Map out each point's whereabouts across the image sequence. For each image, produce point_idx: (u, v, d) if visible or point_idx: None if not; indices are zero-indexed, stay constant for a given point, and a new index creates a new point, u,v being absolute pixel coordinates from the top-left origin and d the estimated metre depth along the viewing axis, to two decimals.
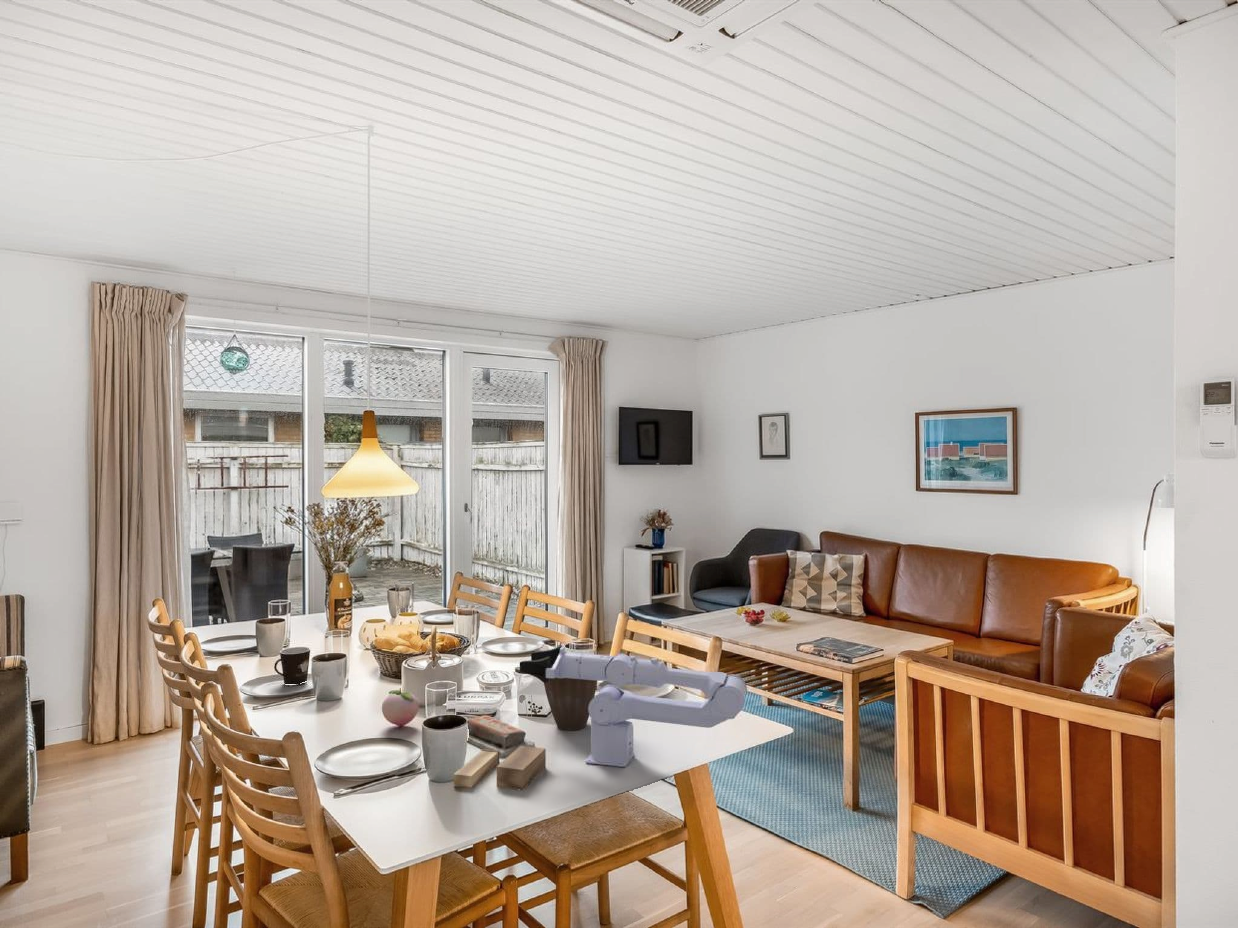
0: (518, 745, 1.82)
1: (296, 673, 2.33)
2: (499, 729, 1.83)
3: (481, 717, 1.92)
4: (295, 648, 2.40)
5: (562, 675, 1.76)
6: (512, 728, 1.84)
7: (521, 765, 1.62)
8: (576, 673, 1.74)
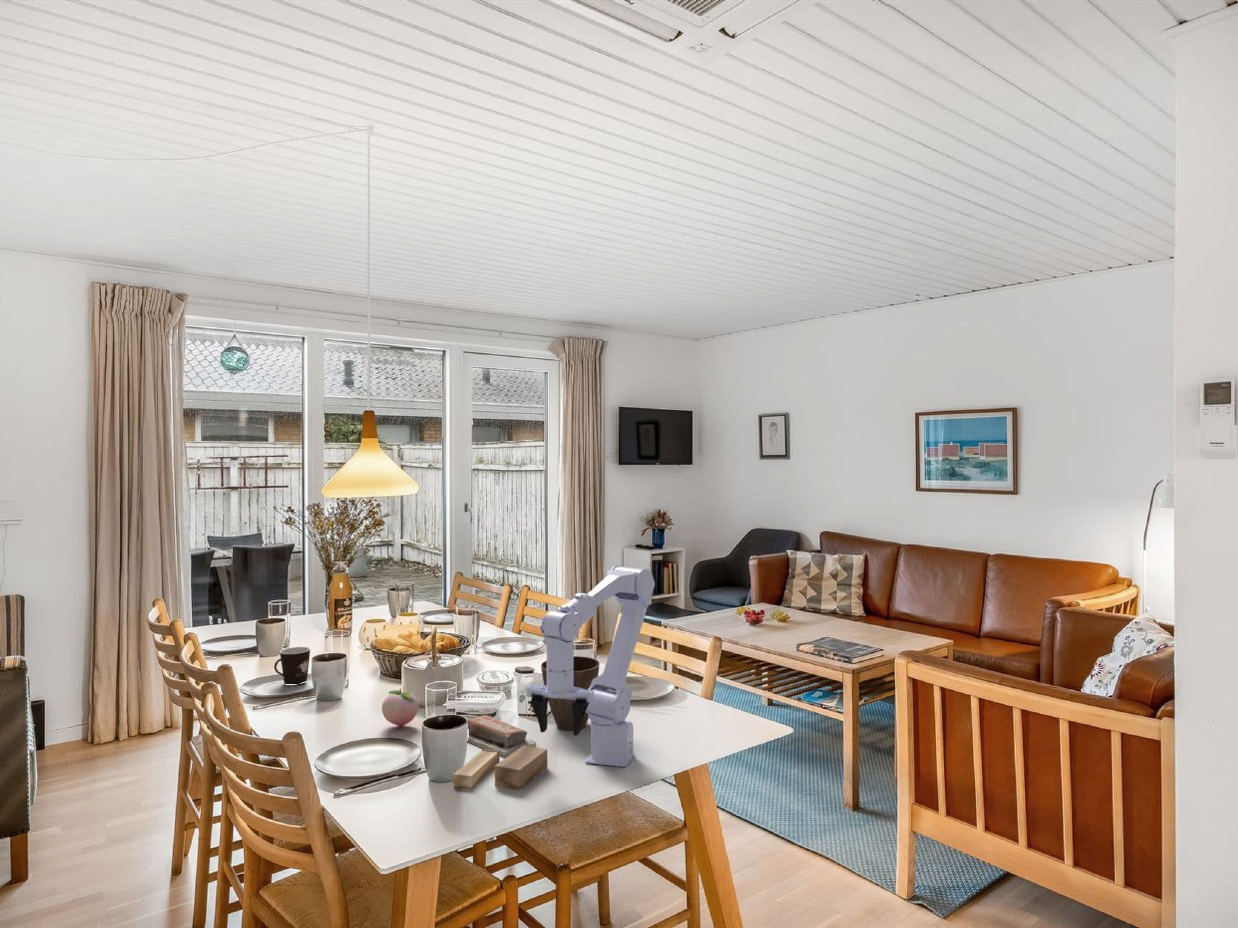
0: (520, 745, 1.82)
1: (296, 673, 2.33)
2: (500, 729, 1.83)
3: (481, 717, 1.91)
4: (295, 648, 2.40)
5: None
6: (513, 728, 1.85)
7: (519, 765, 1.62)
8: None
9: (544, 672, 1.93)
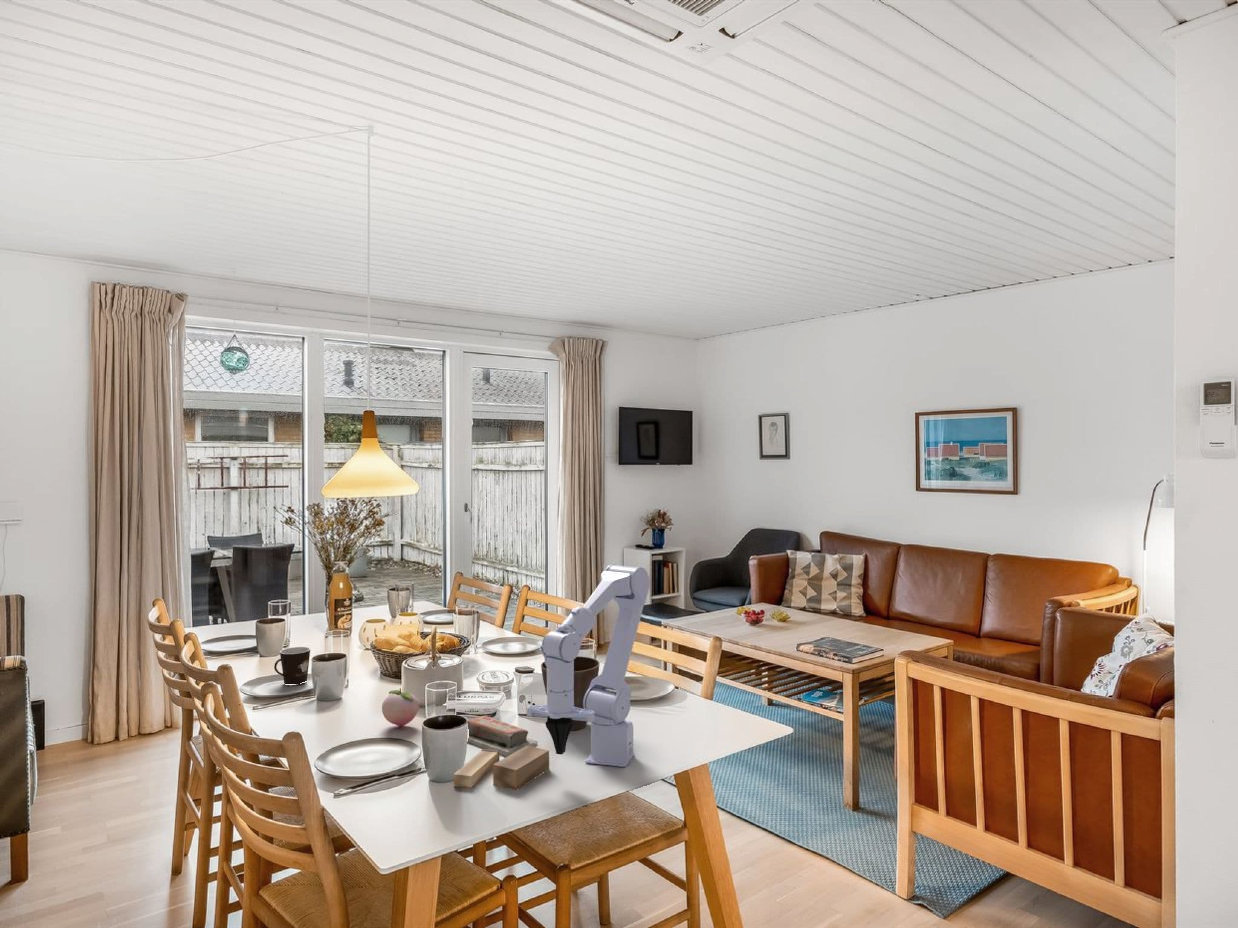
0: (521, 744, 1.83)
1: (296, 673, 2.33)
2: (502, 729, 1.83)
3: (480, 718, 1.91)
4: (295, 648, 2.40)
5: None
6: (514, 727, 1.85)
7: (517, 765, 1.62)
8: (573, 690, 1.64)
9: (544, 672, 1.93)
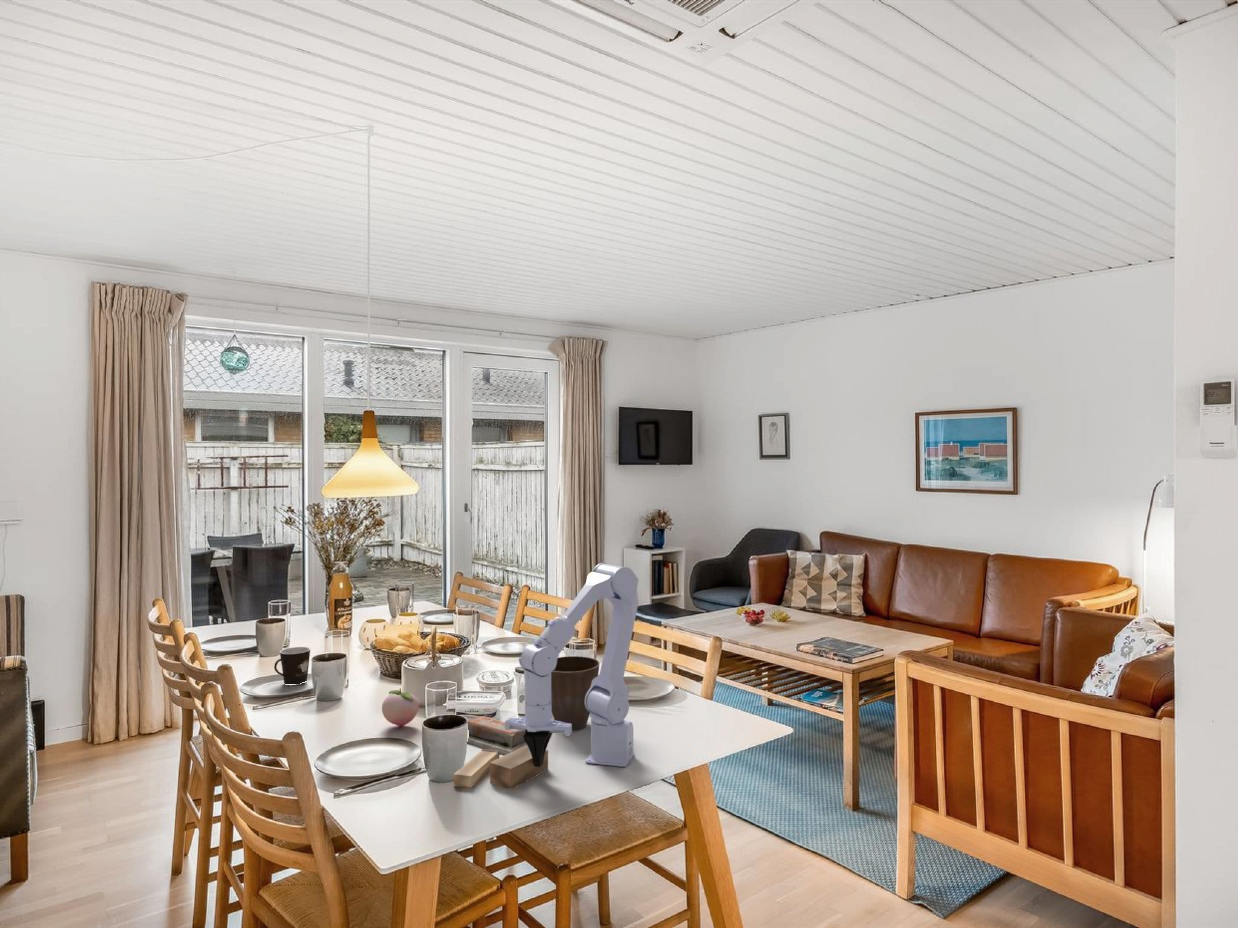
0: (523, 743, 1.83)
1: (296, 673, 2.33)
2: (503, 728, 1.83)
3: (479, 718, 1.91)
4: (295, 648, 2.40)
5: None
6: None
7: (512, 764, 1.62)
8: None
9: None
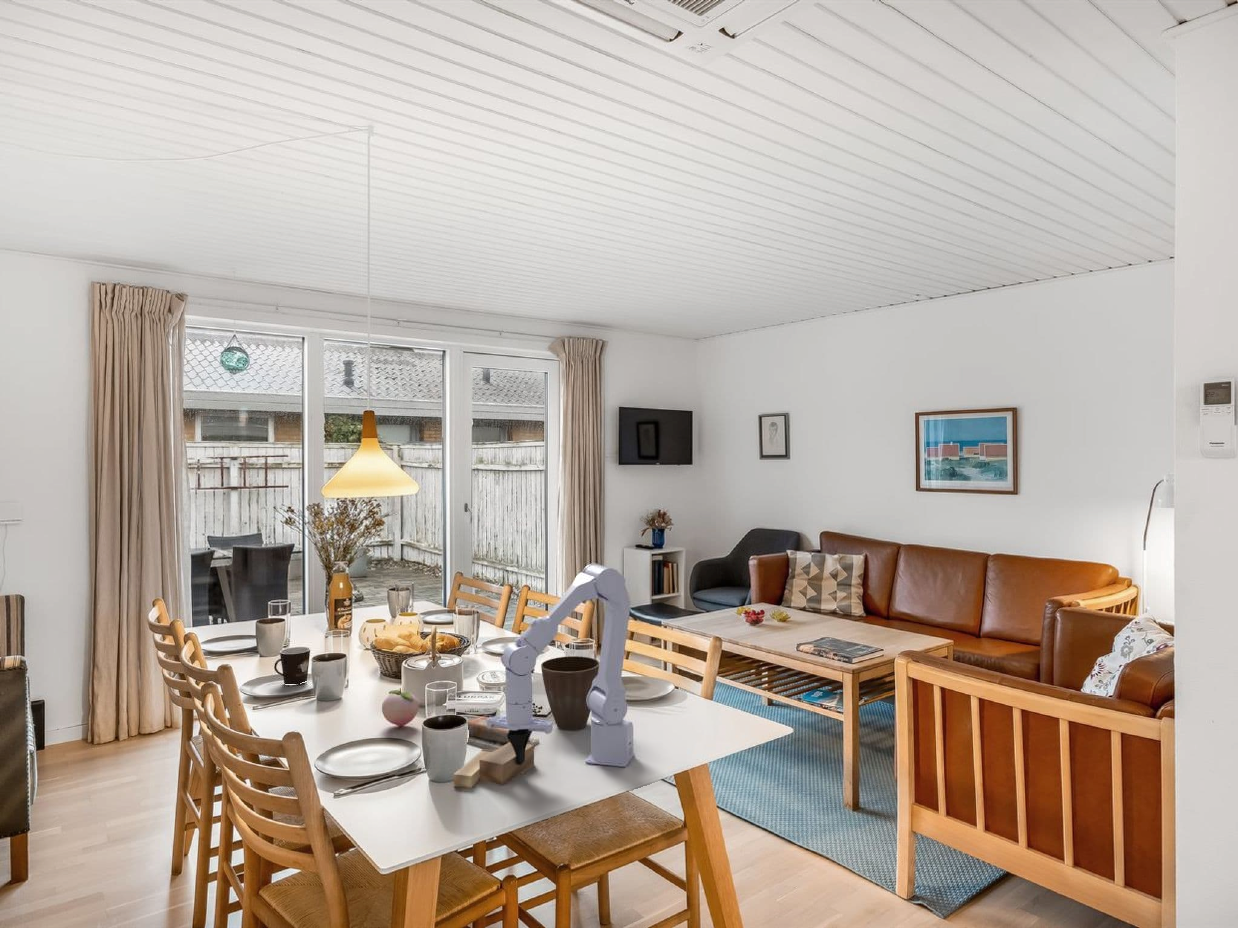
0: None
1: (296, 673, 2.33)
2: None
3: (478, 718, 1.91)
4: (295, 648, 2.40)
5: None
6: None
7: (503, 760, 1.64)
8: None
9: (544, 672, 1.93)
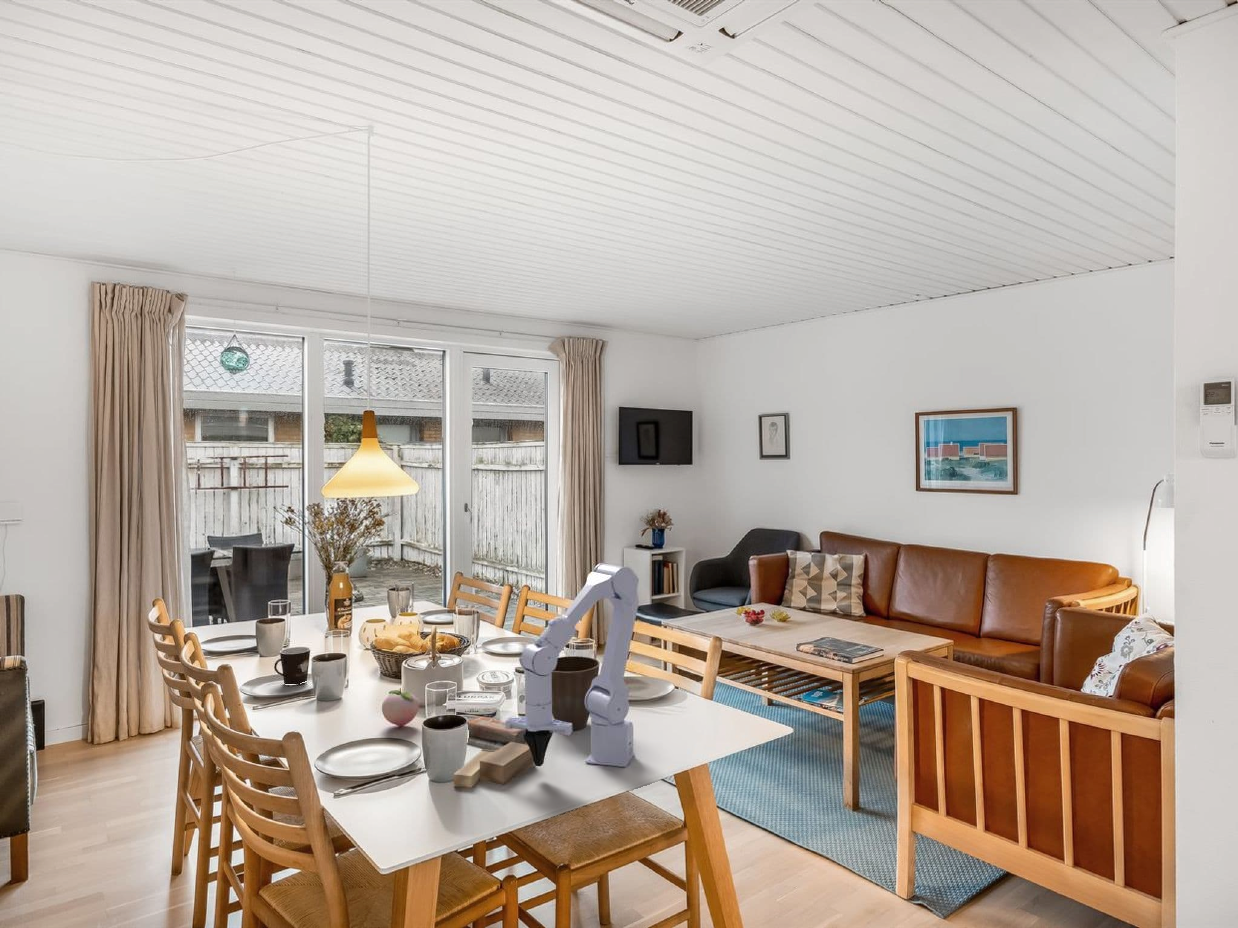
0: (525, 742, 1.83)
1: (296, 673, 2.33)
2: (505, 728, 1.84)
3: (478, 719, 1.91)
4: (295, 648, 2.40)
5: None
6: None
7: (503, 761, 1.64)
8: (551, 703, 1.65)
9: None
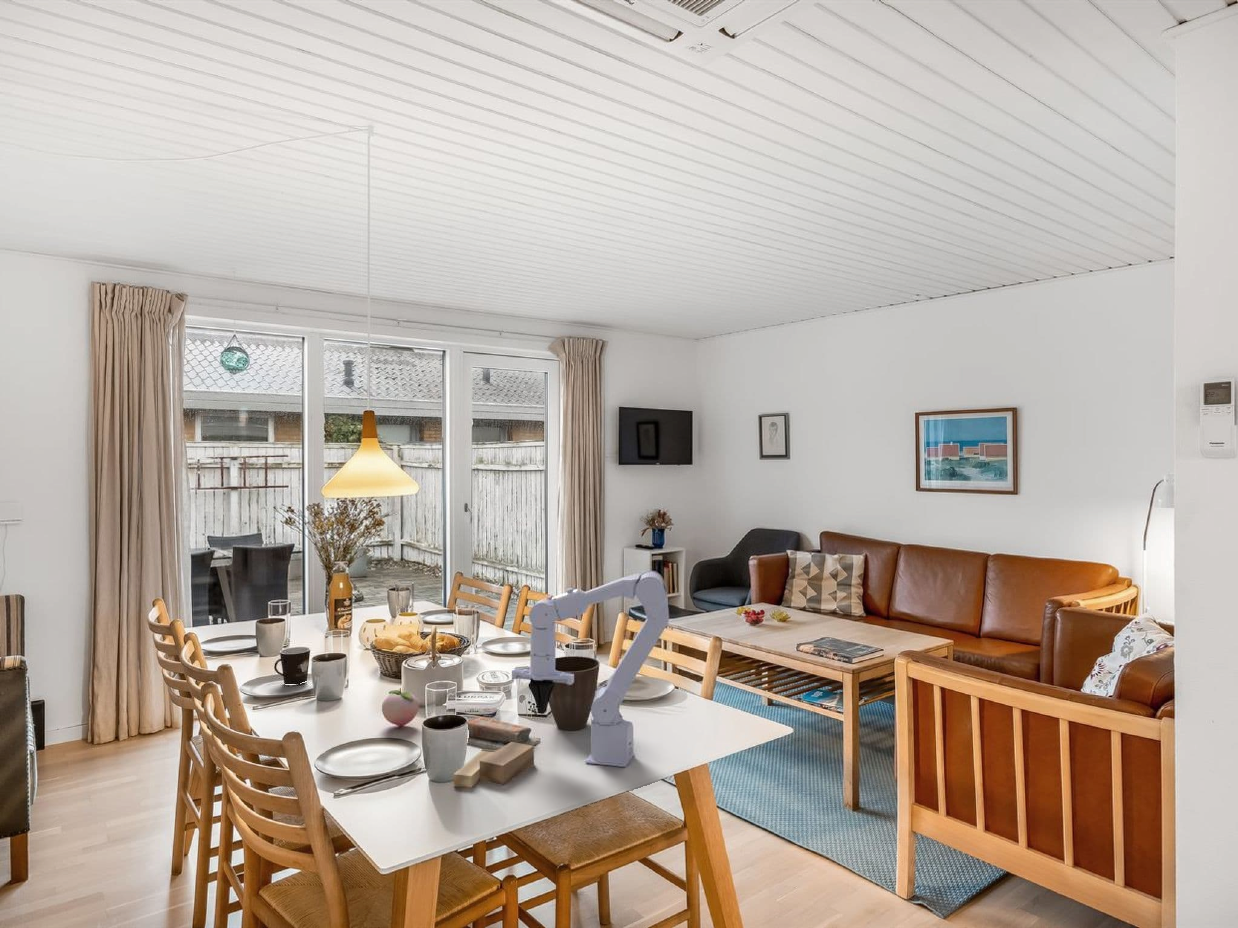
0: (526, 742, 1.84)
1: (296, 673, 2.33)
2: (506, 728, 1.84)
3: (477, 719, 1.90)
4: (295, 648, 2.40)
5: None
6: (517, 726, 1.86)
7: (503, 761, 1.64)
8: None
9: None
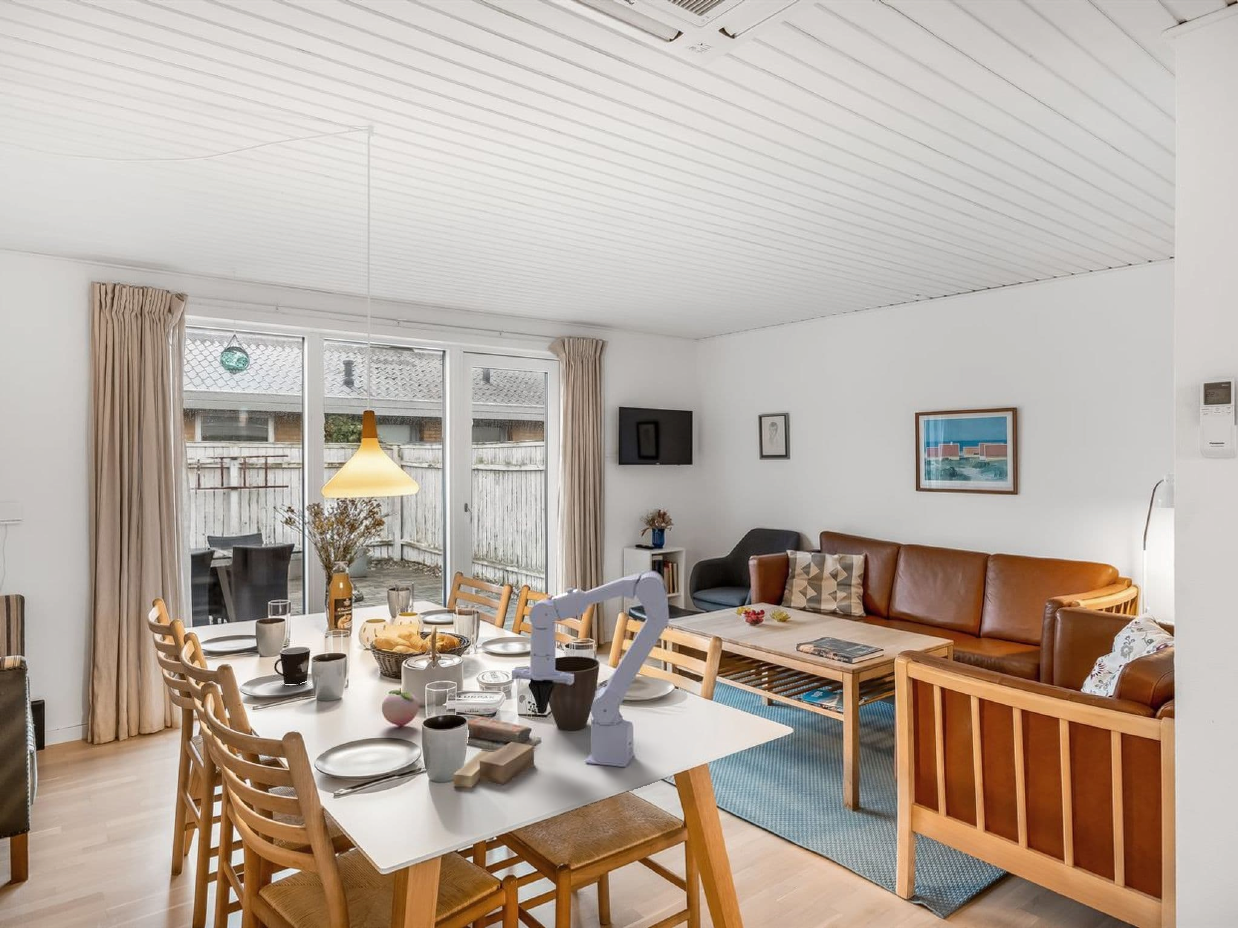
0: (527, 741, 1.84)
1: (296, 673, 2.33)
2: (506, 728, 1.84)
3: (477, 719, 1.90)
4: (295, 648, 2.40)
5: None
6: (517, 726, 1.86)
7: (503, 761, 1.64)
8: None
9: None
